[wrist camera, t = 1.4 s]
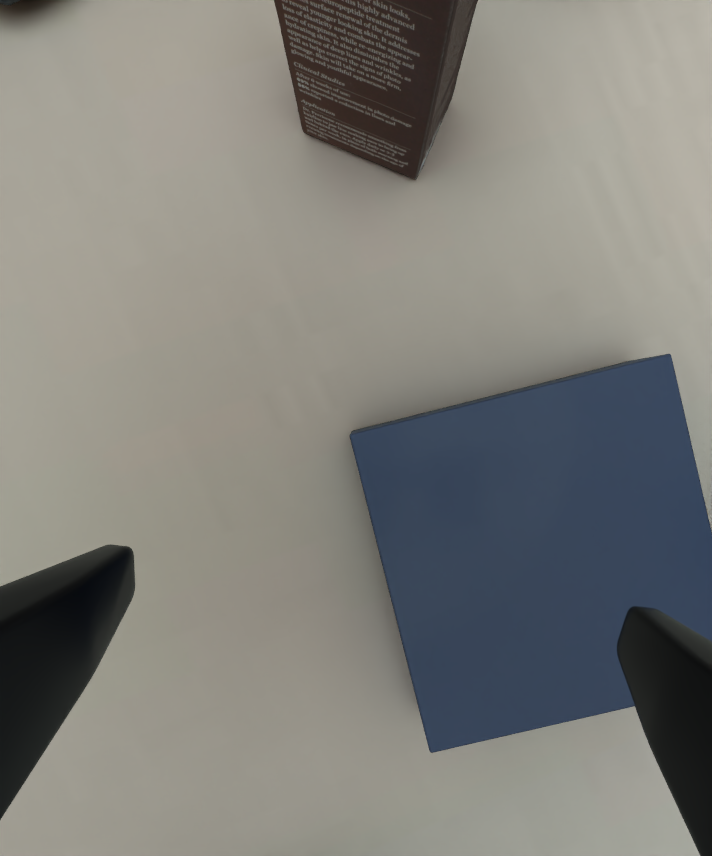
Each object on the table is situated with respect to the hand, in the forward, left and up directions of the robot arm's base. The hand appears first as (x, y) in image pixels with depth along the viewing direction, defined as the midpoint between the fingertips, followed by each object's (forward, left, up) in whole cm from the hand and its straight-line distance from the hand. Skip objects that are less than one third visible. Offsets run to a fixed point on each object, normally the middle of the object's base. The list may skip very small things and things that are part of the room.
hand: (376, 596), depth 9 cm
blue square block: (-5, -6, -14) cm, 16 cm away
